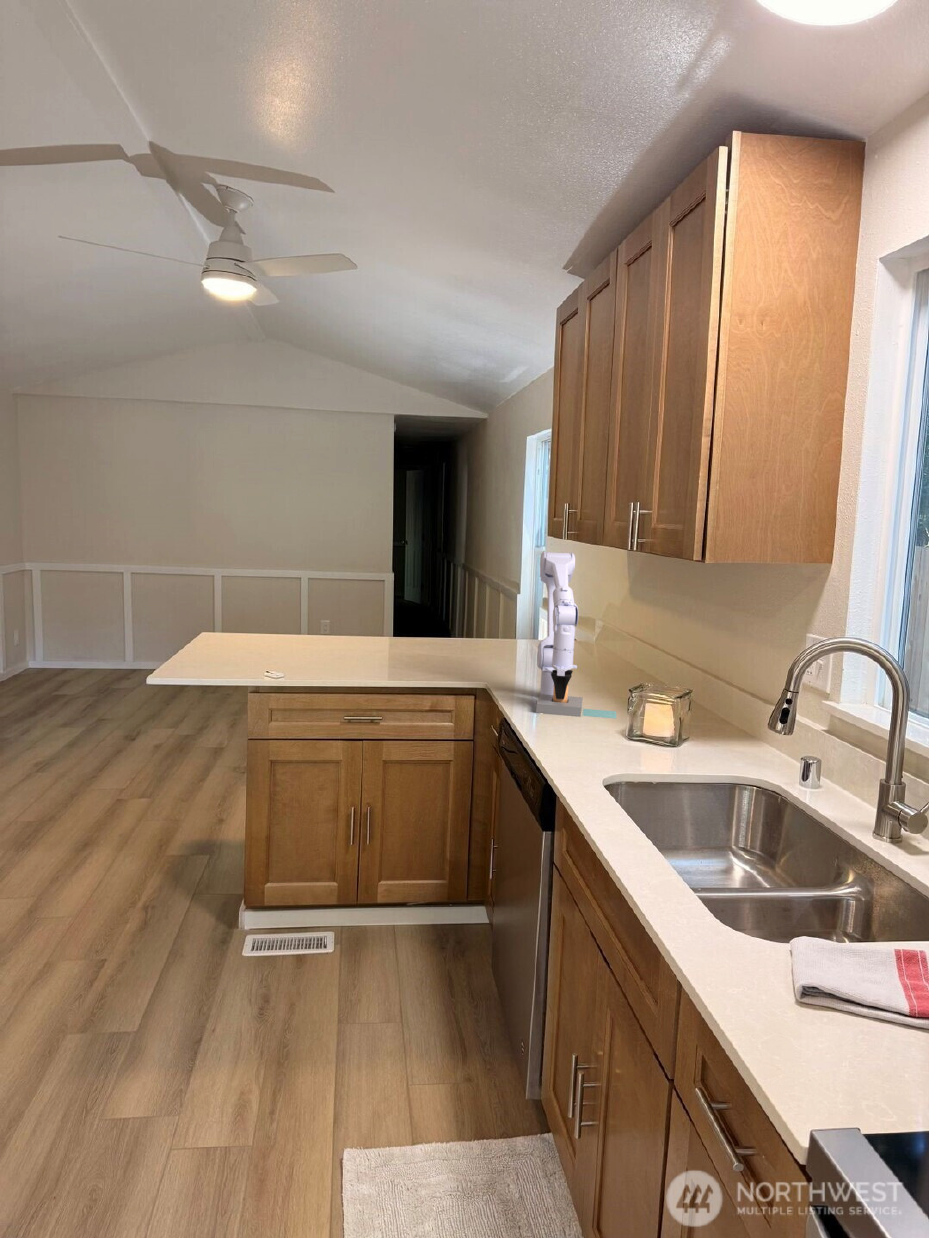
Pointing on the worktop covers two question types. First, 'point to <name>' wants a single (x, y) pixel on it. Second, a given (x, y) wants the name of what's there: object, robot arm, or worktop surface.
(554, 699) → the plug
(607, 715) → the mat
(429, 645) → the worktop surface
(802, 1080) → the worktop surface
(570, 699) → the block
